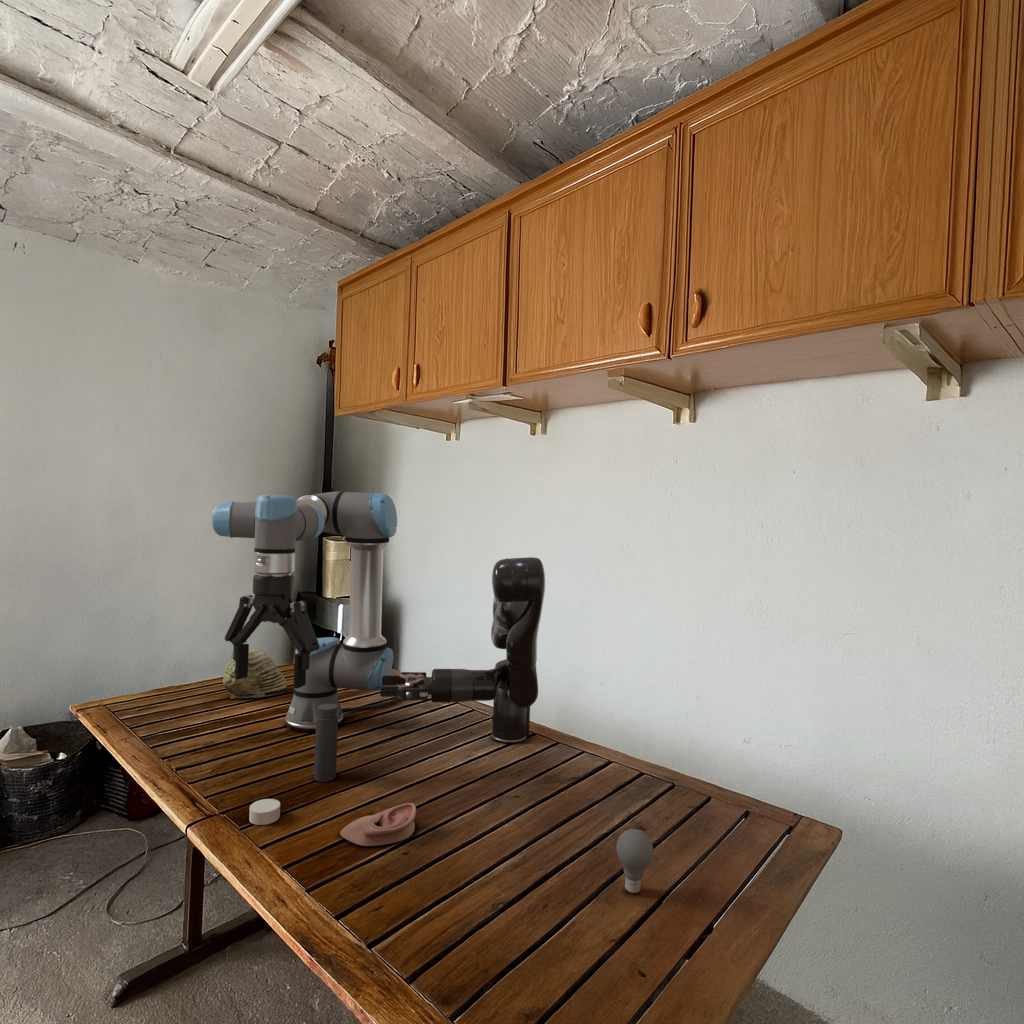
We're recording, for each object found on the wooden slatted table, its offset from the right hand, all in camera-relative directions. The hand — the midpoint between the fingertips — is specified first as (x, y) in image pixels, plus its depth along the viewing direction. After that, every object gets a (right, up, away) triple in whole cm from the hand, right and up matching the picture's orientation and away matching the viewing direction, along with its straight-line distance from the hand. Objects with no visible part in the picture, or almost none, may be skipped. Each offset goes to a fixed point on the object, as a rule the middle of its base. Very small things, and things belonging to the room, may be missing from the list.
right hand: (381, 685), depth 144 cm
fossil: (-51, -18, +54) cm, 76 cm away
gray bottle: (-12, -20, -1) cm, 24 cm away
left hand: (-18, +6, -21) cm, 28 cm away
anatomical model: (+4, -21, -24) cm, 32 cm away
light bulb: (+50, -24, -39) cm, 68 cm away
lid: (-19, -18, -20) cm, 33 cm away
